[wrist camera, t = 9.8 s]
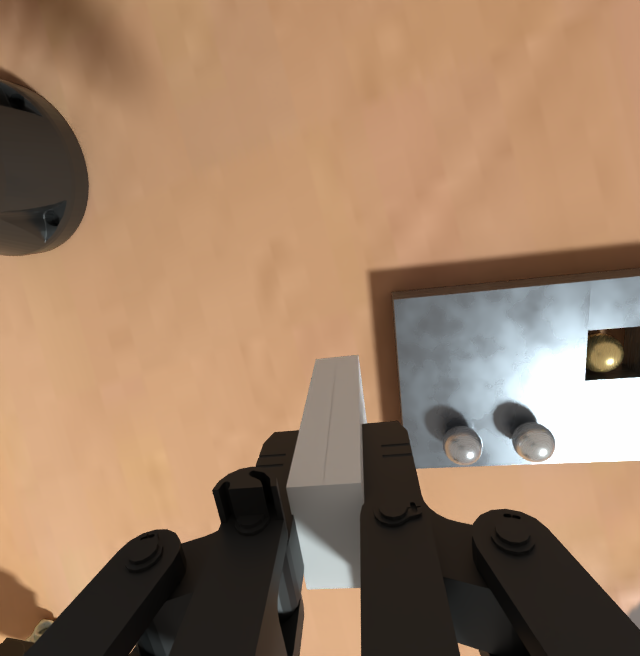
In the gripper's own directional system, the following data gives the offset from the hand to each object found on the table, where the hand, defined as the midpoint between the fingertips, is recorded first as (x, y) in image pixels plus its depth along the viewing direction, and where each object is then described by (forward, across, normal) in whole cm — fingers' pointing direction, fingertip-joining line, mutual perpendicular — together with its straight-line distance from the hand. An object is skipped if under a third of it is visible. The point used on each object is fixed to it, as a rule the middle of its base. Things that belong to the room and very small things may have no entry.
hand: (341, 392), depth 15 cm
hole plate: (+24, +15, -11) cm, 31 cm away
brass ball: (+22, +21, -10) cm, 32 cm away
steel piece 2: (+19, +14, -16) cm, 29 cm away
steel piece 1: (+19, +8, -16) cm, 26 cm away
